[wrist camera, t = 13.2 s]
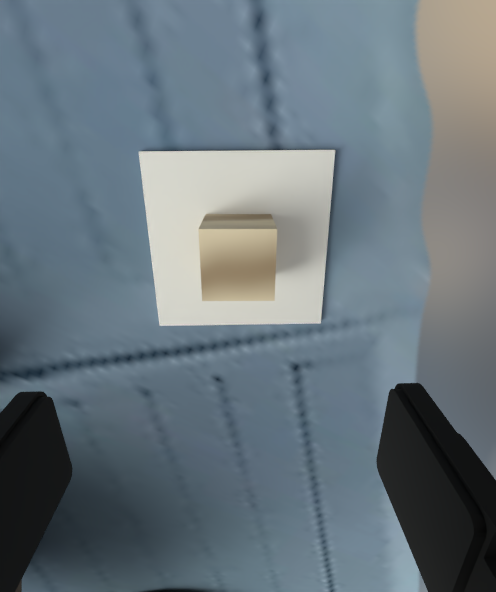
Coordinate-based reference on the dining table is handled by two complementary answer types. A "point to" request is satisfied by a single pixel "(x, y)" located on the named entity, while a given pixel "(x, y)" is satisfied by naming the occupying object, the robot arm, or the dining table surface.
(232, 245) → the maple cube
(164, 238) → the off-white board
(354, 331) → the dining table surface
